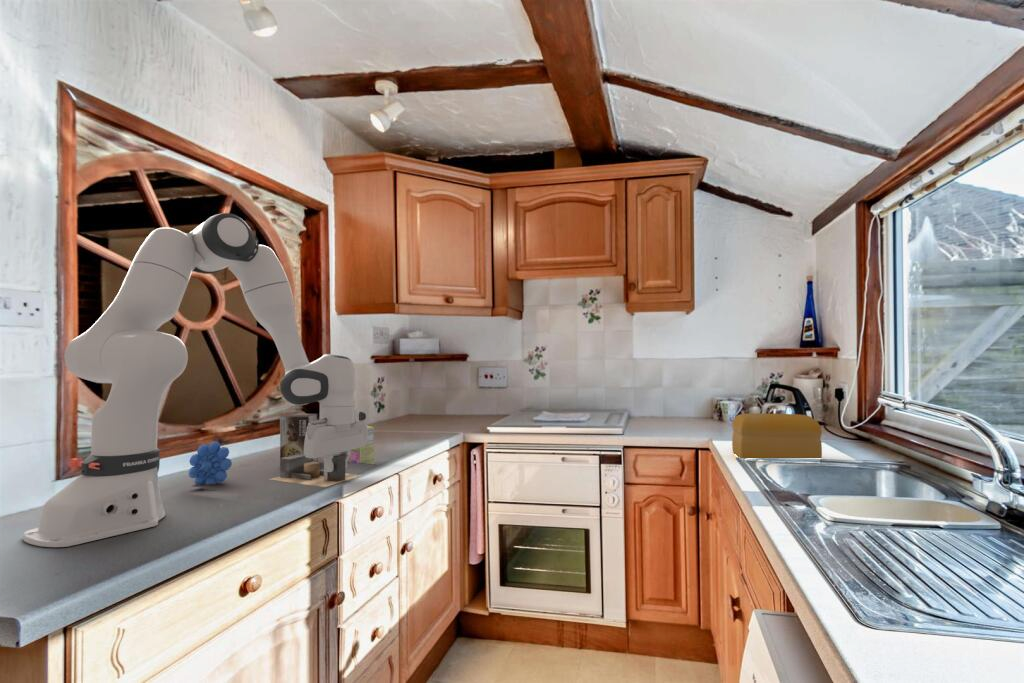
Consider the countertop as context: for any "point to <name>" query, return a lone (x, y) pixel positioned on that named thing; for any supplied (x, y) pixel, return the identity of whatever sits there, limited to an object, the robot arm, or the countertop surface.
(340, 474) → the ram handle
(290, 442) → the coffee box
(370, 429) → the box
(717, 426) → the countertop surface
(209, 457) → the grapes
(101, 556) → the countertop surface
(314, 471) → the nut puck
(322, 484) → the bench
